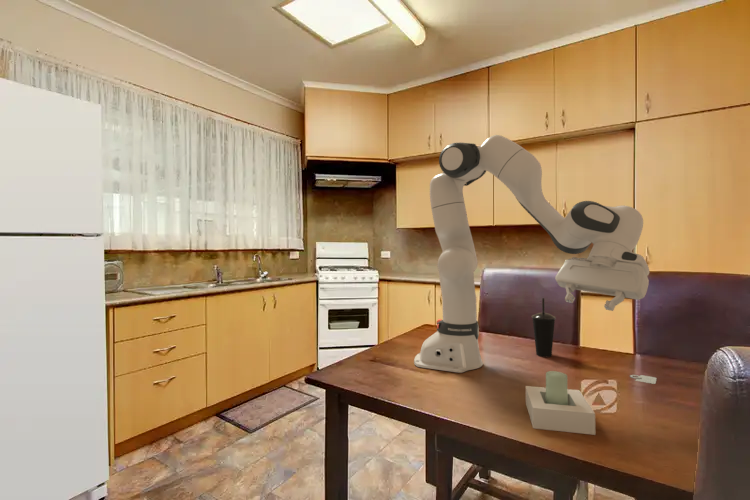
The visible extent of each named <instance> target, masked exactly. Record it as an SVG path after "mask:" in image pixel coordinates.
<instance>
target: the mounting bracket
mask: <svg viewBox="0 0 750 500" xmlns="http://www.w3.org/2000/svg"><path fill="white" fill-rule="evenodd" d="M629 377H630V378H631V379H634V381H636V382H641V383H646V384H653V385H655V384H656V383H657V377H655V376H649V375H642V374H640V375H638V374H637V375H636V374H630V375H629Z"/></svg>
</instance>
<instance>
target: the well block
mask: <svg viewBox="0 0 750 500" xmlns="http://www.w3.org/2000/svg"><path fill="white" fill-rule="evenodd" d="M567 395H568V405H557V404H546V386H545V387H544V386H542V387H541V386H530V385H525V406H526V409H527V411H528V415H529V420H530V422H531V425H532V429H537V430H546V431H555V432H557V431H558V432H564V433H565V432H567V433H572V434H573V433H575V434H585V435H594V436H596V413H595V411H594V410H593V407H592V406H591V405H590V404H589V401H587V399H586V397H585V396H584V395H583V394H582V392H581V391H580V390H579V389H569V388H567Z"/></svg>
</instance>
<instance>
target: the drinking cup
mask: <svg viewBox="0 0 750 500" xmlns="http://www.w3.org/2000/svg"><path fill="white" fill-rule="evenodd" d="M541 303H542V304H541V306H542V307H541V308H542V311H541V312H538V313H535V314H532V315H531V318H532V325H533V334H534V343H535V353H536V356H538V357H542V358H551V357H552V354H553V344H554V333H555V332H554V330H555V322H556V321H555V320H556V319H557V318H556V316H554V315H552V314H551V313H547V312H546V311H545V298H544V297H543V298H541Z"/></svg>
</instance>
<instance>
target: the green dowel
mask: <svg viewBox="0 0 750 500" xmlns="http://www.w3.org/2000/svg"><path fill="white" fill-rule="evenodd" d="M545 388H546V404H557V405H568V395H567V389H568V375H567V374H566V373H564V372H561V371H555V370H550V371H549V370H548V371H546V372H545Z"/></svg>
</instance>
